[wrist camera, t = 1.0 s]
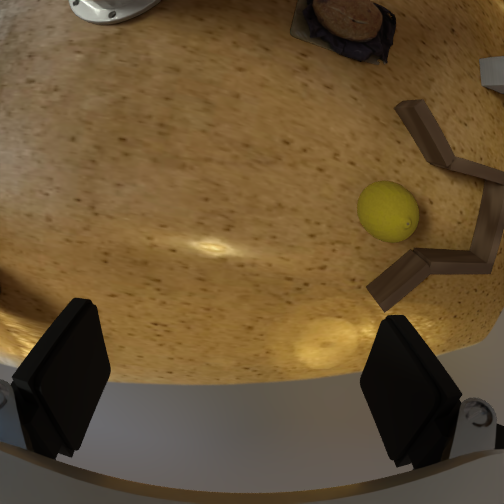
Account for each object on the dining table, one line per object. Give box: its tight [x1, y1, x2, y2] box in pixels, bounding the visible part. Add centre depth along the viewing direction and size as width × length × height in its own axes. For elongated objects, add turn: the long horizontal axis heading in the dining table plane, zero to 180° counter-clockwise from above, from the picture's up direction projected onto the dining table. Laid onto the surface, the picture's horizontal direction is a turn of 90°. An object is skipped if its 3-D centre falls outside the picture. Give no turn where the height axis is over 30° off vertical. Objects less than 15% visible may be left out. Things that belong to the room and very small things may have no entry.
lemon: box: [357, 181, 419, 243], centre depth 26 cm, size 6×6×8 cm
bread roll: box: [290, 0, 396, 65], centre depth 21 cm, size 11×8×4 cm
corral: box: [366, 99, 504, 313], centre depth 29 cm, size 22×17×4 cm
